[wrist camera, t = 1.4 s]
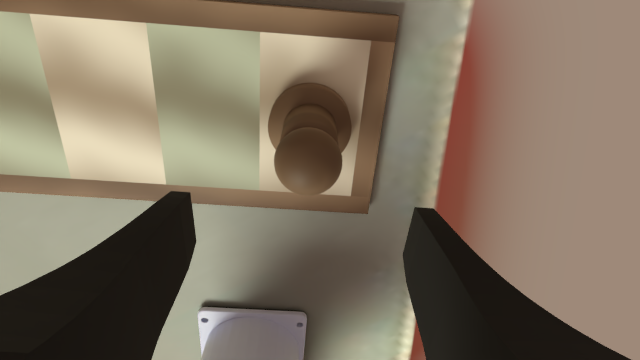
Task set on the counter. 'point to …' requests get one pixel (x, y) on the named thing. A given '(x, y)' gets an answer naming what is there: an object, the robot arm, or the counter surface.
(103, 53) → the game board
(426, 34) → the counter surface
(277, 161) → the pawn
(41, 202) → the counter surface
